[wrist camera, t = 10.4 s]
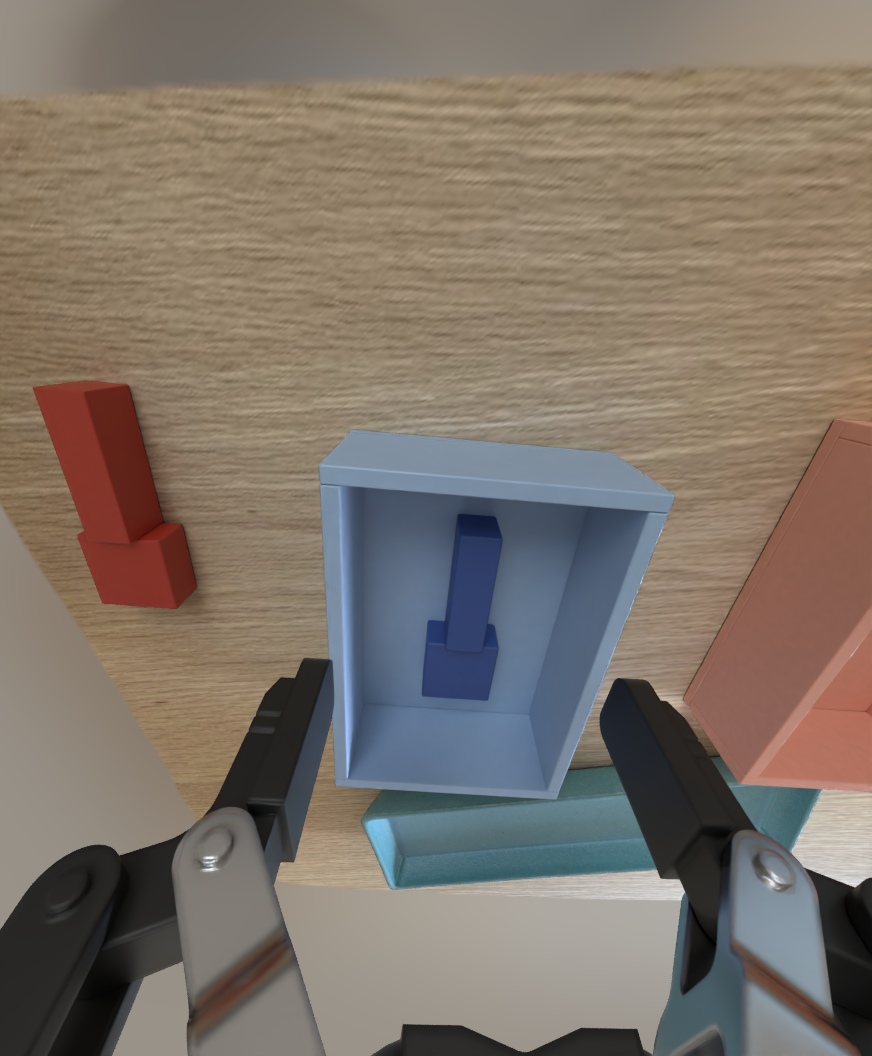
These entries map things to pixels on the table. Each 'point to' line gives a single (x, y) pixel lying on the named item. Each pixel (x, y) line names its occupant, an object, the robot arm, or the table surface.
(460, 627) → the blue stepped block
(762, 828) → the rectangular tray
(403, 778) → the blue bin
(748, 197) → the table surface
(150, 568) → the red mallet block
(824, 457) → the red bin
